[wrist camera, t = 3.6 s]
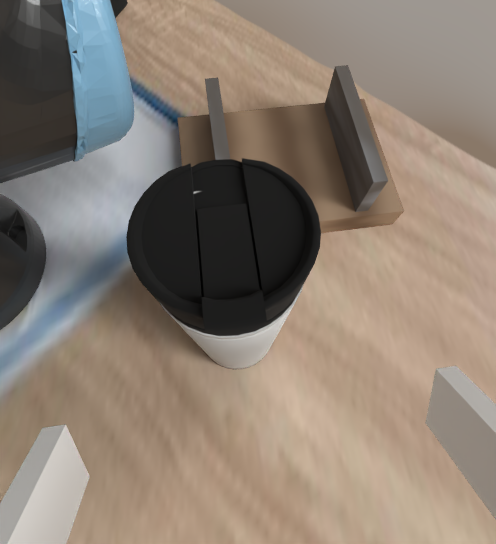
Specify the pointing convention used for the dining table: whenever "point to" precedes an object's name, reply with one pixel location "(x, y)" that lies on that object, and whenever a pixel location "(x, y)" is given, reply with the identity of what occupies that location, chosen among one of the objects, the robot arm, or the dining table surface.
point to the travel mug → (225, 252)
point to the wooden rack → (306, 151)
